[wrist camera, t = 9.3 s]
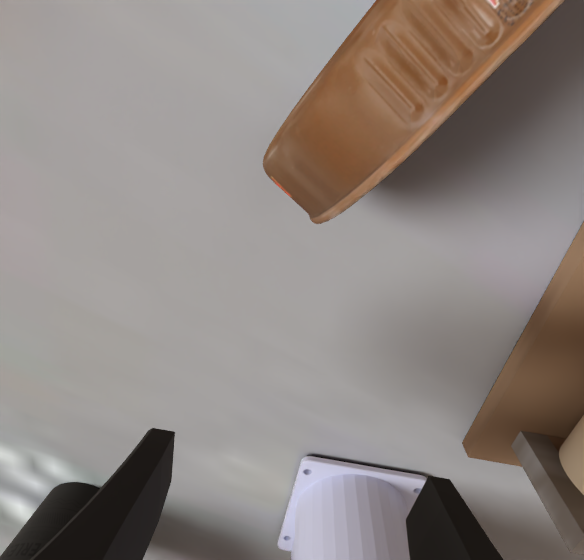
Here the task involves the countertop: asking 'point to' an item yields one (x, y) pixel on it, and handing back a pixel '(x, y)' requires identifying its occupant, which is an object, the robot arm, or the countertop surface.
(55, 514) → the drinking cup
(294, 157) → the tin
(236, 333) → the countertop surface
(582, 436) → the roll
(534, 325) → the holder
